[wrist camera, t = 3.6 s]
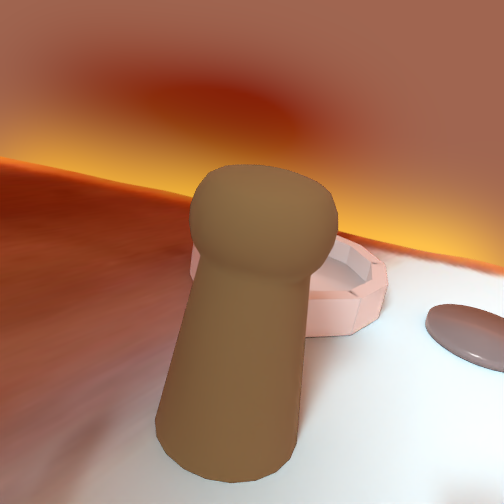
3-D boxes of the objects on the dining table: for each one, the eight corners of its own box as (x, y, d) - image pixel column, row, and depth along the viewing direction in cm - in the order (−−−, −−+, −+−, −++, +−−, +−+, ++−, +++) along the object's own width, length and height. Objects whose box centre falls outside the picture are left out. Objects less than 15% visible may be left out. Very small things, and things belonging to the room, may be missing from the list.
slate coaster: (407, 331, 31) (410, 323, 30) (447, 302, 36) (450, 295, 35) (524, 389, 27) (528, 380, 26) (550, 347, 32) (554, 339, 31)
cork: (260, 371, 24) (304, 156, 20) (323, 463, 19) (398, 203, 15) (140, 388, 22) (162, 145, 18) (177, 500, 17) (220, 197, 13)
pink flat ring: (153, 268, 33) (156, 235, 32) (272, 237, 42) (277, 210, 41) (305, 363, 26) (315, 322, 25) (408, 299, 35) (418, 268, 34)
